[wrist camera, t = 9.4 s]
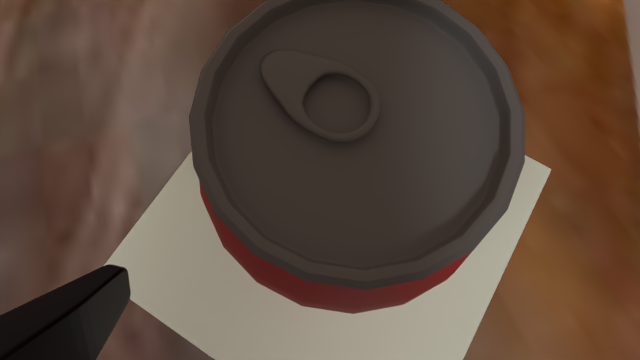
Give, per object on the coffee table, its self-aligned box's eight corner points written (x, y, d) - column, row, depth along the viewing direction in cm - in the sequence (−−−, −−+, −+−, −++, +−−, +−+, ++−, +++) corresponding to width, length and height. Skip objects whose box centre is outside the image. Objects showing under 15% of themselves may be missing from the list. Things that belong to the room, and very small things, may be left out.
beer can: (316, 135, 19) (310, -101, 7) (427, 207, 18) (628, 68, 6) (236, 240, 17) (67, 157, 6) (351, 325, 16) (429, 436, 5)
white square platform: (511, 189, 22) (551, 169, 18) (383, 448, 18) (401, 492, 15) (291, 67, 24) (285, 27, 21) (137, 276, 21) (96, 275, 17)
